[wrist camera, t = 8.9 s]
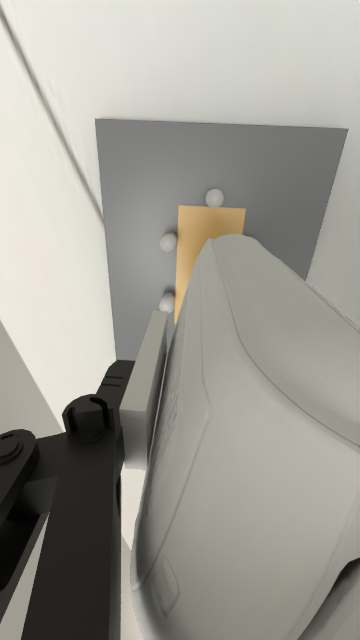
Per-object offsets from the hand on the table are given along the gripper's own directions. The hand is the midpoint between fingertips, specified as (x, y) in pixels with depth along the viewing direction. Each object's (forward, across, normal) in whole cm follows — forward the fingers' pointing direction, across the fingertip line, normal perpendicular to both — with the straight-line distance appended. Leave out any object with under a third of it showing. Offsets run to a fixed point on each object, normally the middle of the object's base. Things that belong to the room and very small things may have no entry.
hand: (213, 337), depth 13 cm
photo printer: (+2, 0, 0) cm, 2 cm away
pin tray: (+14, 0, 0) cm, 14 cm away
